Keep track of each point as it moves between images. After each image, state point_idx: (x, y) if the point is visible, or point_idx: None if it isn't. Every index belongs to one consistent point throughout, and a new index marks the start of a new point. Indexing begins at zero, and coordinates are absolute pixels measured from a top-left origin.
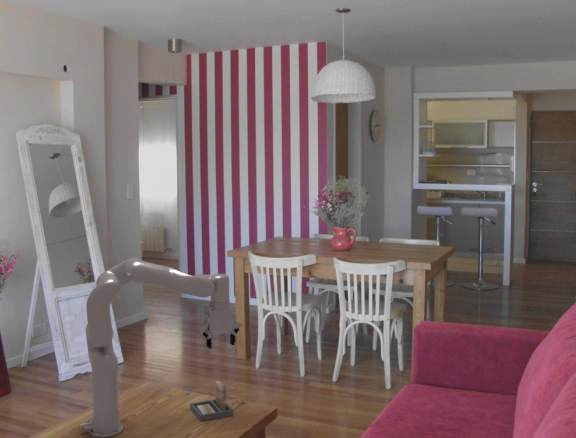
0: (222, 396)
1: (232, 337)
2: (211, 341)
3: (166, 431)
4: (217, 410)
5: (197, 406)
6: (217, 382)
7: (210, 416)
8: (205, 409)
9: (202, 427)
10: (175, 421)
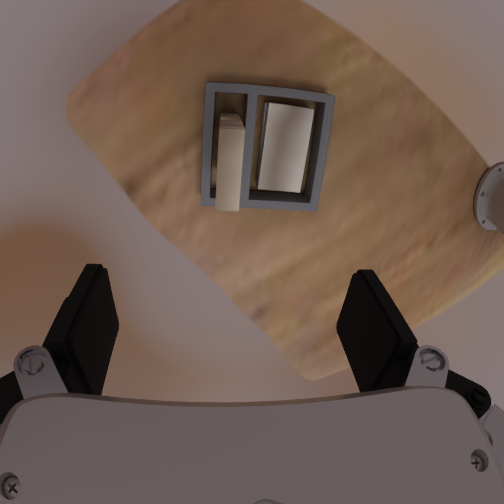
0: (237, 122)
1: (76, 332)
2: (384, 322)
3: (422, 107)
4: (255, 117)
5: (300, 186)
6: (236, 196)
7: (296, 89)
8: (289, 147)
9: (331, 66)
10: (378, 152)
